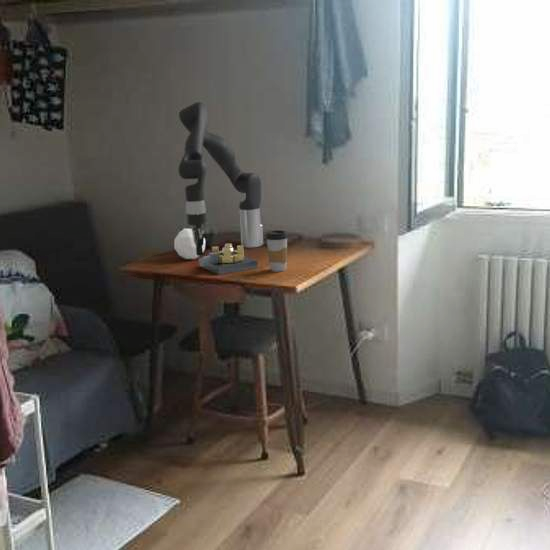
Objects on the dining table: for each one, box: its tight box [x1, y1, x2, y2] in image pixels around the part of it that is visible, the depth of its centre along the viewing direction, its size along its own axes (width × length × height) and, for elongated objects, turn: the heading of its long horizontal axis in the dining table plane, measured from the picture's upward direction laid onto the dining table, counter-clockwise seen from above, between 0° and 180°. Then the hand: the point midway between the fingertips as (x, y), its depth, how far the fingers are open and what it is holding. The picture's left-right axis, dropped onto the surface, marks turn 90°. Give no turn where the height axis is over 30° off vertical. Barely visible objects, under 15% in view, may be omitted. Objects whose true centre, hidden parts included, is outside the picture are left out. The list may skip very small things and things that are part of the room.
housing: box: [200, 246, 259, 275], centre depth 291 cm, size 17×17×8 cm
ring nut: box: [198, 243, 245, 267], centre depth 287 cm, size 21×12×5 cm, turn 136°
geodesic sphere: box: [173, 227, 206, 260], centre depth 310 cm, size 14×14×14 cm
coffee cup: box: [265, 229, 288, 273], centre depth 282 cm, size 8×8×15 cm
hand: (199, 255), depth 287 cm, fingers closed
